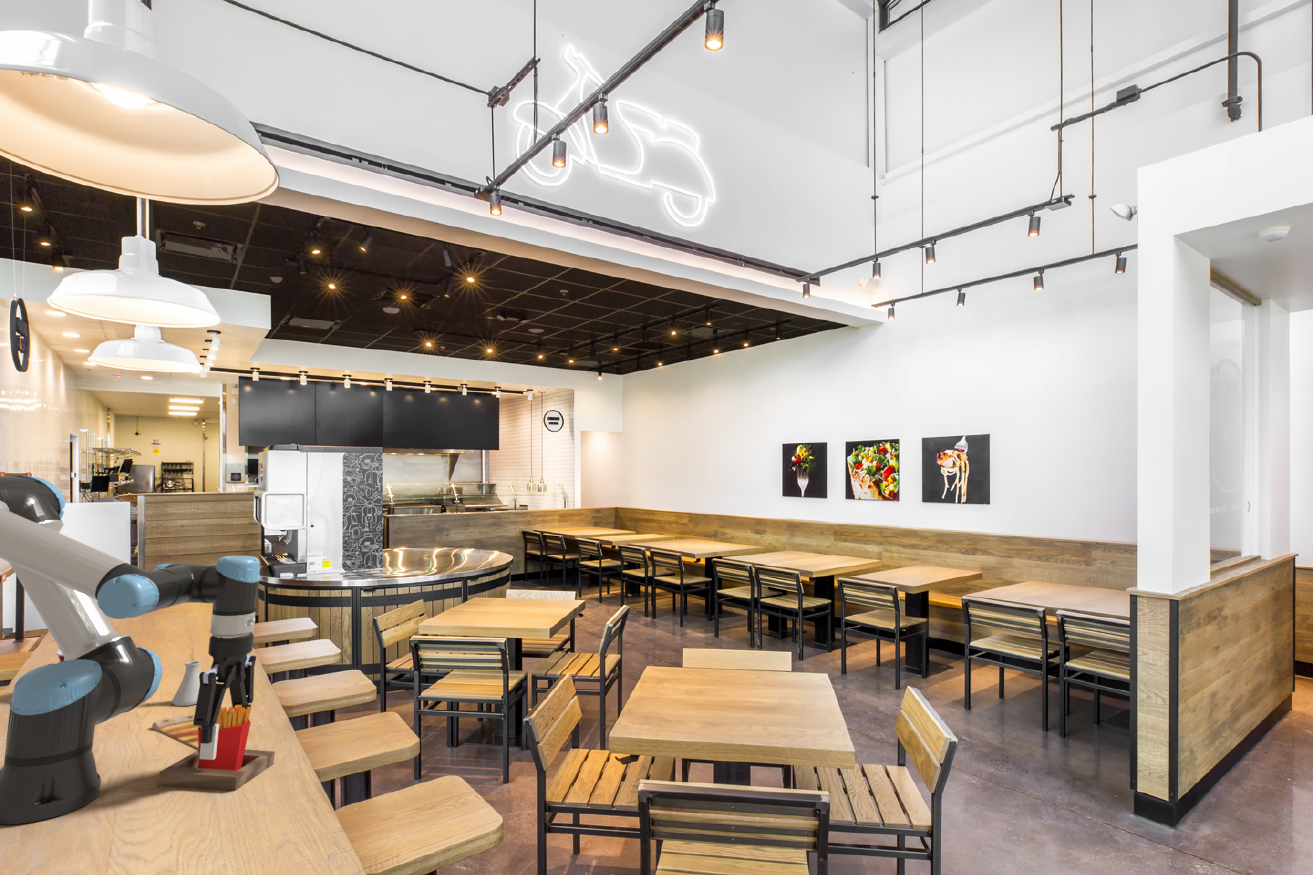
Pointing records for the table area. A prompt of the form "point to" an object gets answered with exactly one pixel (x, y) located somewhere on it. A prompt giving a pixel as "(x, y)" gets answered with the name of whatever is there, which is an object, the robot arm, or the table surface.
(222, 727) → the french fries
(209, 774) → the fry holder
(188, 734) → the pizza slice
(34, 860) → the table surface
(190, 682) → the flask
